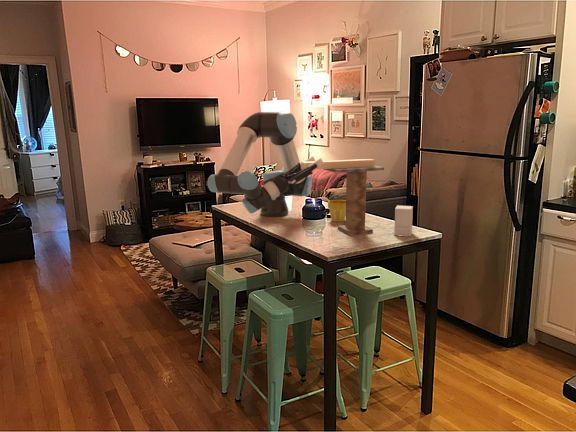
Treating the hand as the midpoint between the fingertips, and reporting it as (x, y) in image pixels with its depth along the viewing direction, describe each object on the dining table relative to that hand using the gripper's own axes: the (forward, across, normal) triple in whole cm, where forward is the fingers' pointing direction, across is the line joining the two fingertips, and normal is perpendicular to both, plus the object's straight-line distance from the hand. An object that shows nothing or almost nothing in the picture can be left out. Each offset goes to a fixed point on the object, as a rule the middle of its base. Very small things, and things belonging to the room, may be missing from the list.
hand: (318, 159), depth 211 cm
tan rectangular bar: (+7, 0, -8) cm, 11 cm away
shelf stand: (-2, 0, -38) cm, 38 cm away
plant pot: (+1, -23, -40) cm, 46 cm away
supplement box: (+15, +13, -48) cm, 52 cm away
